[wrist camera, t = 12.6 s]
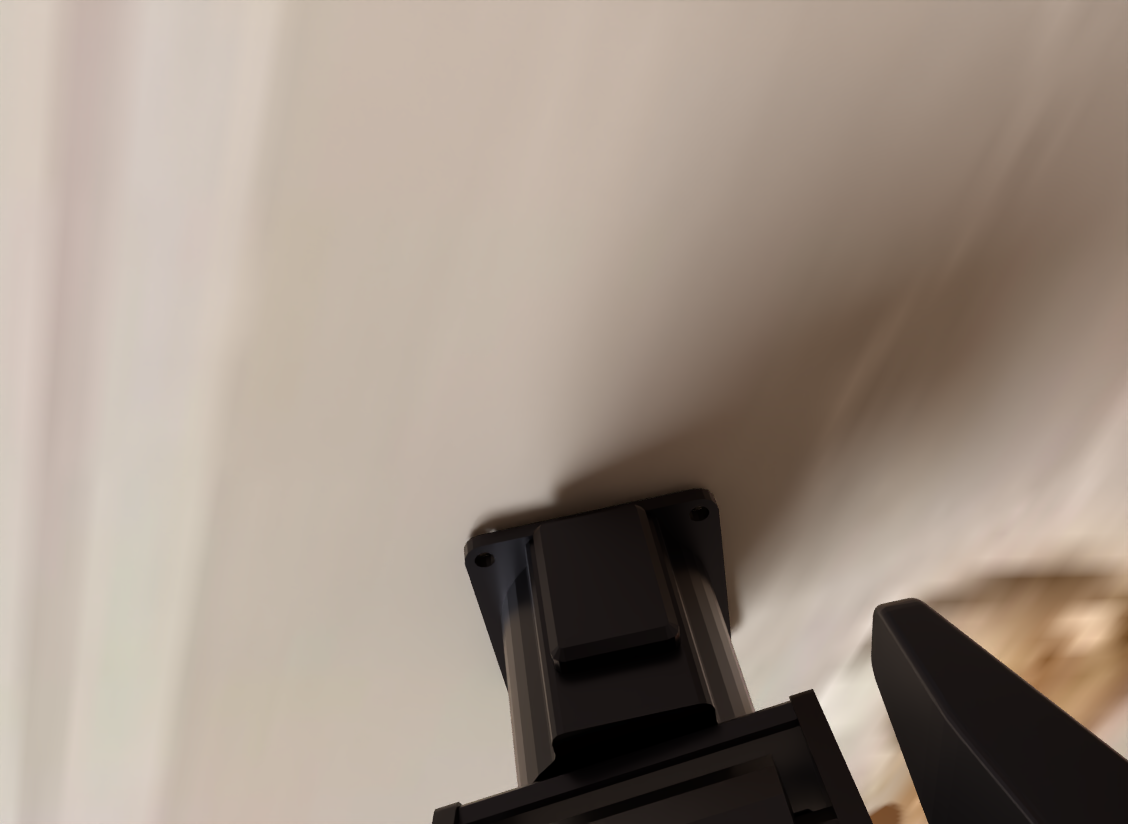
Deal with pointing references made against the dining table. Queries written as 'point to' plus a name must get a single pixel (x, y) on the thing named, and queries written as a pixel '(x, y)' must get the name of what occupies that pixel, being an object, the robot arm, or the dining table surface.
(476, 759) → the dining table surface
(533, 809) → the robot arm
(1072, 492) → the dining table surface
